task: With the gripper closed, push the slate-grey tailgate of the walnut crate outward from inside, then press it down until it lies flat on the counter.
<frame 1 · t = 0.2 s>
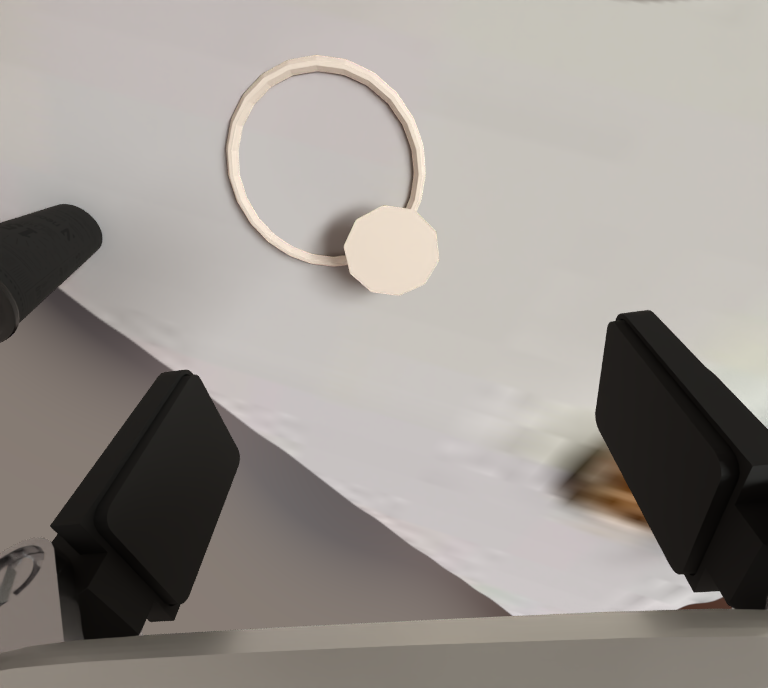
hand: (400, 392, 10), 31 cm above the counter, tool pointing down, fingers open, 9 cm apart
hand towel holder: (343, 186, 38), on the counter
drinking cup: (77, 229, 41), on the counter
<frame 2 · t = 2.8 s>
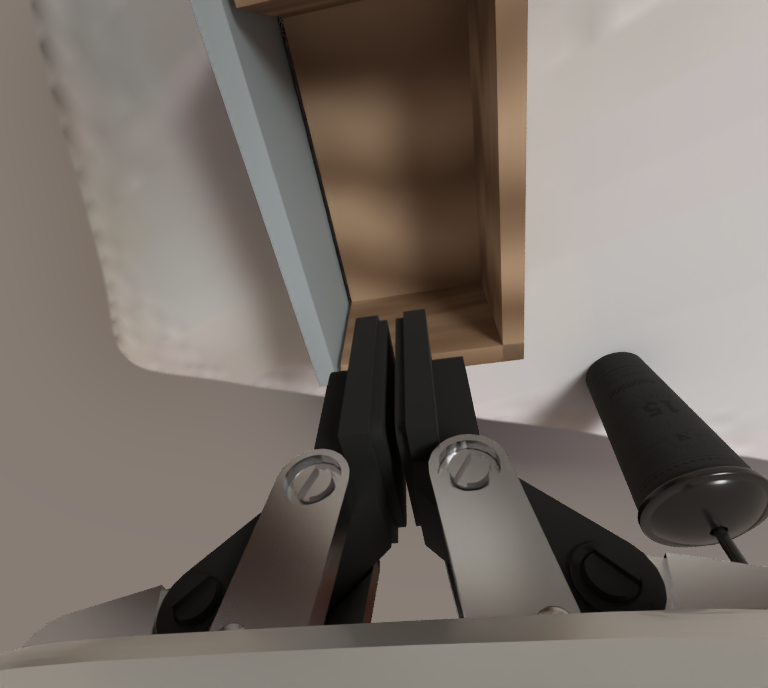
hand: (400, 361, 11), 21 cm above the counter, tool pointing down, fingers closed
crate: (398, 167, 28), on the counter
tailgate: (297, 205, 25), point 5 cm above the counter, hinge at 0.0°
drinking cup: (614, 372, 38), on the counter
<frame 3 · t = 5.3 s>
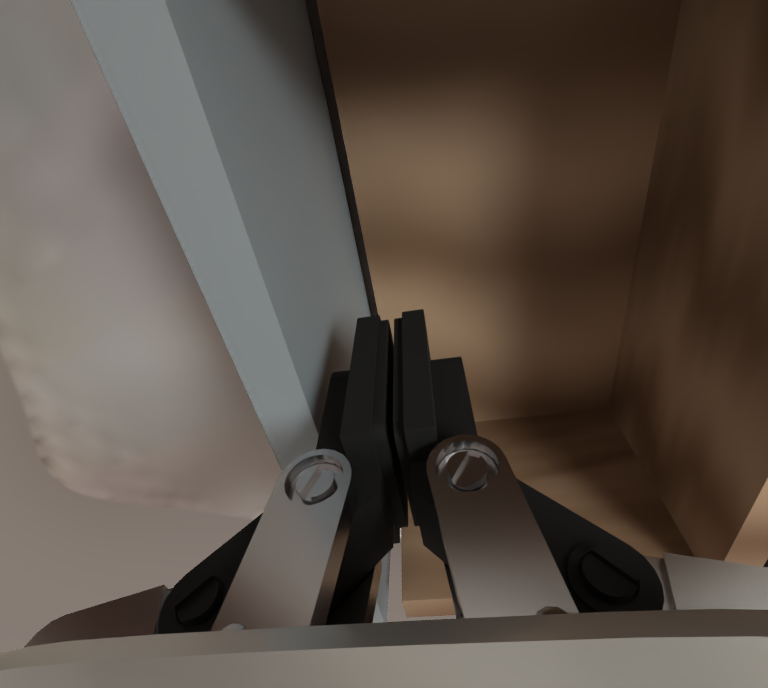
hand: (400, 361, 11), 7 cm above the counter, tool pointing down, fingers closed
crate: (497, 236, 17), on the counter
tailgate: (324, 322, 13), point 5 cm above the counter, hinge at 2.1°, touching gripper
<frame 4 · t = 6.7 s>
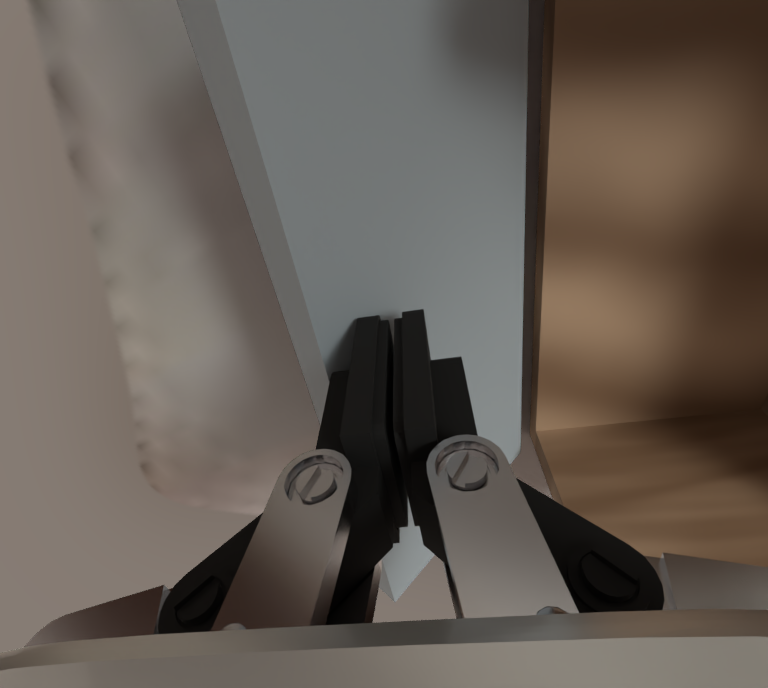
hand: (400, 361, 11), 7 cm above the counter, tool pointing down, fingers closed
crate: (676, 226, 16), on the counter
tailgate: (431, 314, 13), point 4 cm above the counter, hinge at 43.2°, touching gripper
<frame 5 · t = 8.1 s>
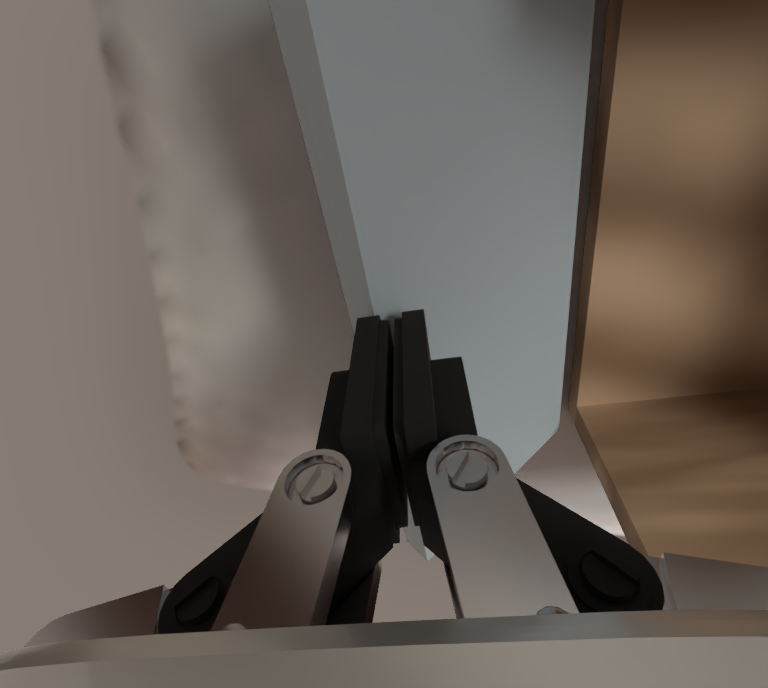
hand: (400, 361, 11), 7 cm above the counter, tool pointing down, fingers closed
crate: (733, 194, 15), on the counter
tailgate: (479, 279, 13), point 4 cm above the counter, hinge at 47.9°, touching gripper
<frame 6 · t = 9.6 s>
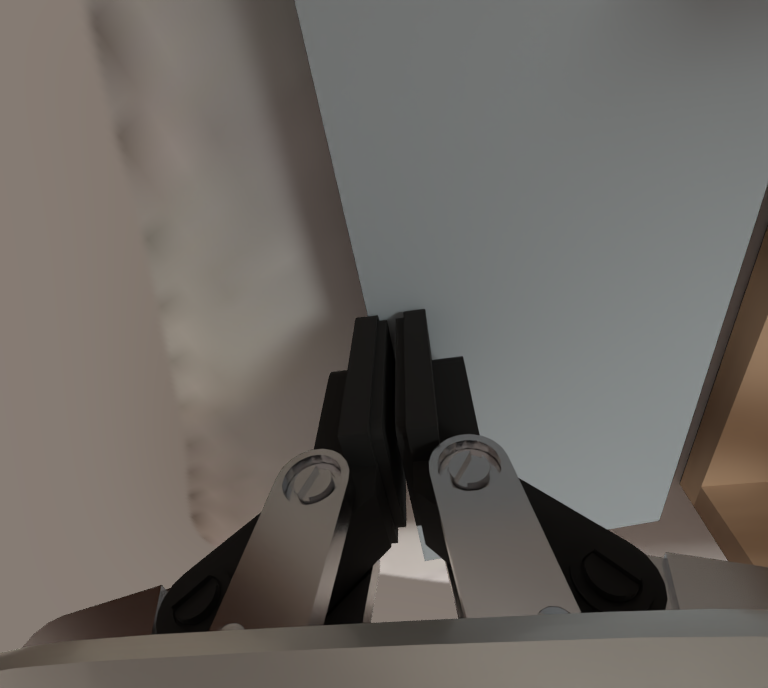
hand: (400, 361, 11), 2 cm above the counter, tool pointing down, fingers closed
tailgate: (543, 311, 11), point 1 cm above the counter, hinge at 83.8°, touching gripper
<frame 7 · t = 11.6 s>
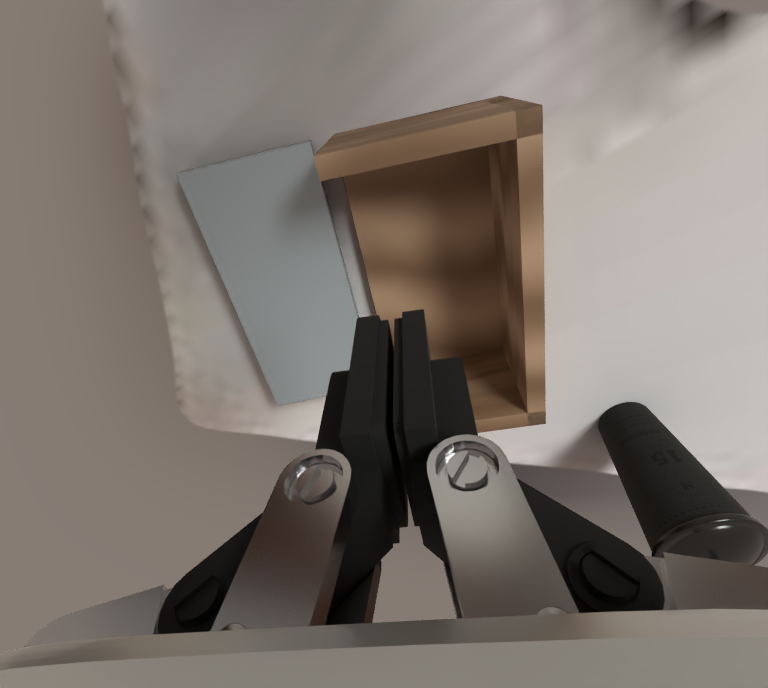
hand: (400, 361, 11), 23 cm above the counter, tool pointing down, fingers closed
crate: (430, 259, 33), on the counter
tailgate: (291, 292, 34), point 1 cm above the counter, hinge at 83.8°
drinking cup: (623, 419, 42), on the counter
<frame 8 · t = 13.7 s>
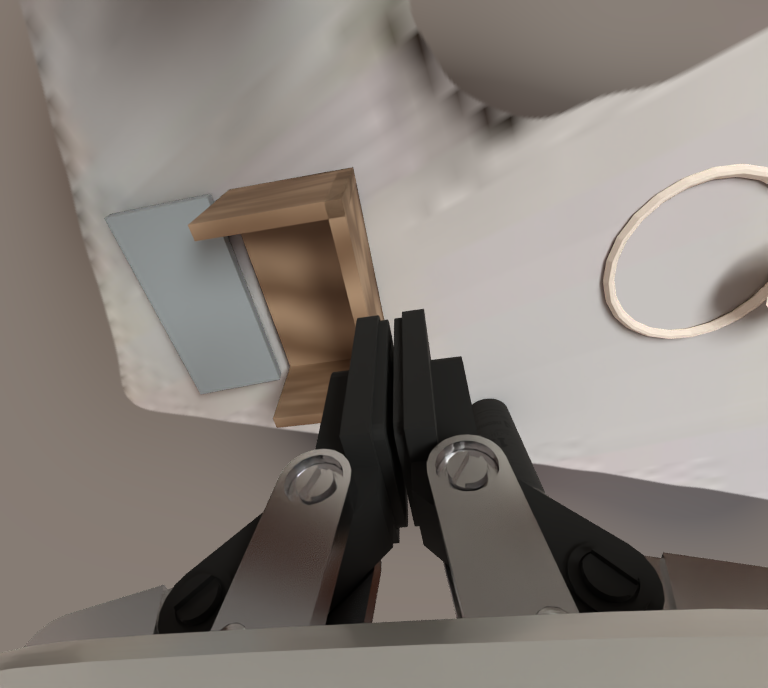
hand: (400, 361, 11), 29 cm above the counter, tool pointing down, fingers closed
crate: (315, 284, 42), on the counter
hand towel holder: (713, 258, 40), on the counter
tailgate: (205, 306, 42), point 1 cm above the counter, hinge at 83.8°
drinking cup: (487, 412, 52), on the counter
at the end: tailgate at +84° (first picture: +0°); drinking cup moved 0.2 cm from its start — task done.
